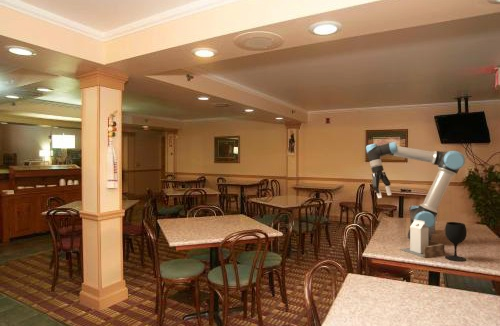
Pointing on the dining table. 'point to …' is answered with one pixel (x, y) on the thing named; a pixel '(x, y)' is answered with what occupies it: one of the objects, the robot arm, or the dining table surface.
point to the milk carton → (418, 236)
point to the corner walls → (433, 249)
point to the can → (432, 229)
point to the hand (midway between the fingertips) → (384, 196)
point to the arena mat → (412, 252)
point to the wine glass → (455, 238)
